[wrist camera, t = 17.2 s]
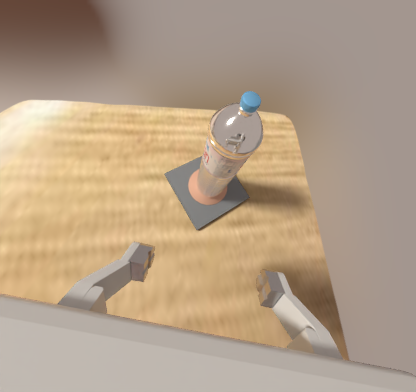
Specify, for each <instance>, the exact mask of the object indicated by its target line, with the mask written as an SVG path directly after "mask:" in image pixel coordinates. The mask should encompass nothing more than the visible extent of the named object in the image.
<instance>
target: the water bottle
mask: <svg viewBox="0 0 416 392" xmlns="http://www.w3.org/2000/svg"><path fill="white" fill-rule="evenodd" d="M260 103H261V99H260V97H259V95H257V94H256V93H255V92H252V91H248V92H245V93H244V94H243V96H242V98H241V101H240V103H232V104H229V105H226V106H224V107H222V108H221V109H219V110H218V111H217V112H216V113H215V114H214V115H213V116H212V118H211V120H210V123H209V128H208V137H207V141H206V145H205V150H204V153H203V155H202V160H201V164H200V169H199V173H198V178H197V189H198V191H199V192H200V193H201V194H202V195H203V196H205V197H209V198H212V197H216V196H218V195H219V194H220V193H221V192H222V191H223V190H224V189H225V187H226V186H227V185H228V184H229V183H230V181H231V180H232V179H233V178H234V177H235V175H236V174H237V173H238V171H239V169H240V168H241V167H242V166H243V164H244V163H245V162H246V161H247V159H248V158H249V157H250V156H251V155H252V154H253V153H254V152H255V151H256V150H257V149H258V148H259V146H260V144H261V142H262V139H263V125H262V121H261V118H260V116H259V114H258V113H257V109H258V107H259V106H260Z"/></svg>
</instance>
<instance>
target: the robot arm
mask: <svg viewBox="0 0 416 392" xmlns="http://www.w3.org/2000/svg"><path fill="white" fill-rule="evenodd" d="M154 250H155V246H151V245H147V244H143V243H138V242H133V243H132V244H131V245H130V247H129V248H128V250H127V251H126V252H125V254H124V255H123V256H122V258H121V259H120V260H116V261H114V262H112V263H110V264H109V265H107V266H105V267H103V268H101V269H99V270H98V271H96V272H94V273H92V274H90V275H88V276H87V277H85V278H83V279H81V280H79V281H78V282H77V283H76V284H75V285H74V286H73V287H72V288H71V289H70V290H69V292H68V293H67V294H66V295H65V296H64V297H63V298H62V299H61V301H60V302H59V303H58V304H52V303H47V302H42V301H37V300H32V299H26V298H21V297H16V296H11V295H6V294H1V293H0V392H416V376H414V375H413V374H410V373H408V372H405V371H401V370H395V369H390V368H385V367H380V366H374V365H370V364H364V363H359V362H354V361H349V360H344V359H343V358H342V356H341V354H340V352H339V350H338V348H337V346H336V344H335V342H334V340H333V339H332V337H331V335H330V333H329V331H328V330H327V329H326V328H325V327H324V326H323V325H322V324H321V323H320V322H319V321H318V320H317V319H316V317H315V316H314V315H313V314H312V313H311V312H310V311H309V310H308V309H307V308H306V307H305V306H304V305H303V304H302V303H301V302H300V301H299V299H298V298H297V297H296V296H293V294H292V292H291V289H290V287H289V285H288V282H287V280H286V278H285V275H284V274H283V273H281V272H275V271H271V270H266V269H262V270H261V271H260V273H261V274H260V275H258V277H257V279H256V288H257V290H258V291H259V295H258V297H259V301H260V305H261V306H265V307H269V308H272V310H273V311H274V313H275V314H276V316H277V317H278V319H279V320H280V322H281V323H282V325H283V326H284V328H285V329H286V331H287V333H288V334H289V336H290V337H291V339H292V341H291V342H290V343H289V344H288V345H287V349H286V348H281V347H276V346H271V345H265V344H260V343H255V342H250V341H245V340H240V339H234V338H229V337H224V336H219V335H214V334H208V333H203V332H198V331H193V330H188V329H182V328H177V327H172V326H167V325H162V324H156V323H151V322H146V321H141V320H136V319H130V318H125V317H120V316H115V315H110V314H106V313H107V308H106V302H105V301H106V300H108V299H109V298H110V297H111V296H112V295H114V294H115V293H116V292H117V291H119V290H120V289H121V288H122V287H124V286H125V285H126V284H127V283H129V282H130V281H131V280H135V281H141V282H144V280H145V278H146V276H147V274H148V269H149V268H150V267H151V265H152V263H153V260H154V253H153V252H154Z"/></svg>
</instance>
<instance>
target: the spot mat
mask: <svg viewBox="0 0 416 392" xmlns="http://www.w3.org/2000/svg"><path fill="white" fill-rule="evenodd" d="M201 160H202V156H201V157H199V158H197V159H195V160H192V161H190V162H188V163H186V164H184V165H182V166H180V167H178V168H176V169H173V170H171V171H169V172H167V173H165V176H166V178H167V180H168V182H169V183H170V185H171V187H172V188H173V190H174V192H175V194H176V195H177V197H178V199H179V201H180V202H181V204H182V206H183V207H184V209H185V211H186V213H187V214H188V216H189V218H190V220H191V221H192V223H193V225H194V226H195V228H196V230H198V229H199V228H201V227H203V226H204V225H206V224H208V223H209V222H211V221H212V220H214V219H216V218H217V217H219V216H220V215H222V214H224V213H225V212H227V211H229V210H230V209H232V208H233V207H235V206H237V205H238V204H240V203H242V202H243V201H245V200H246V199H248V198H250V197H249V196H248V194H247V193H246V191H245V190H244V188H243V187H242V185H241V184H240V182H239V181H238V179H237V178H236V176H235V177H234V178H233V179H232V180H231V181H230V183H229V184H228V185H227V186H226V187H225V189H224V190H223V191H222V192H221V193H220V194H219V195H218V196H216V197H212V198H209V197H205V196H203V195H202V194H201V193H200V192H199V191H198V189H197V178H198V173H199V169H200V164H201Z"/></svg>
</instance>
